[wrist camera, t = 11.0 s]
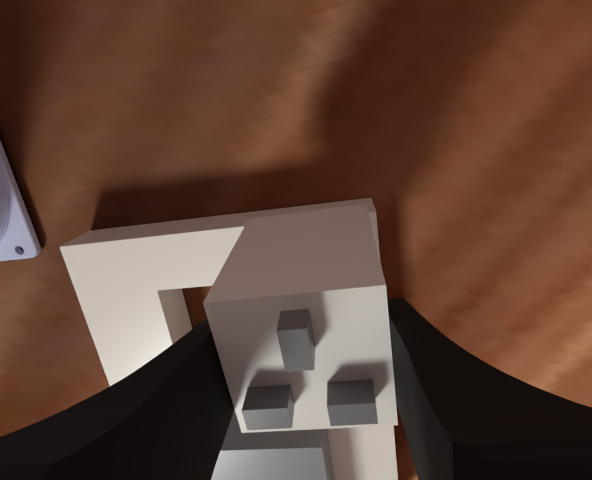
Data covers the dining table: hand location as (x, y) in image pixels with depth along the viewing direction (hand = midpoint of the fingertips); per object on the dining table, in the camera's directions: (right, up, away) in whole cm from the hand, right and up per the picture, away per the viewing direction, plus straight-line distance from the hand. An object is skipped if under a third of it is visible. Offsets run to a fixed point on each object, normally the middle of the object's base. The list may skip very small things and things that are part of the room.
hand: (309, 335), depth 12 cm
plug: (0, +2, +4) cm, 4 cm away
